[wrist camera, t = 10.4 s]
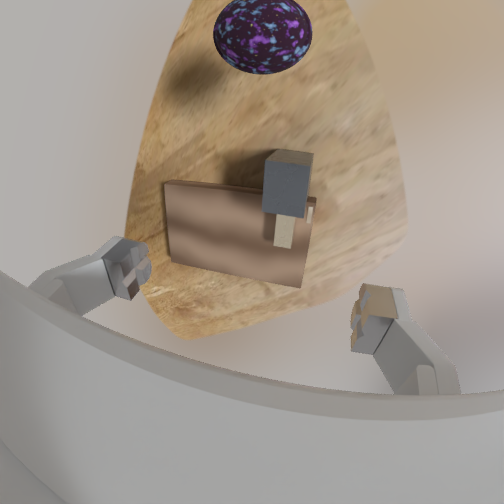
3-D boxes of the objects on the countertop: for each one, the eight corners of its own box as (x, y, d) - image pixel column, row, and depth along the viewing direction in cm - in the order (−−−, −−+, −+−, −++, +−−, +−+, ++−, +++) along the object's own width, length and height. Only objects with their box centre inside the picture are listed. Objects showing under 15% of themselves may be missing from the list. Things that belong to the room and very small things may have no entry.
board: (171, 179, 34) (163, 184, 33) (316, 197, 31) (315, 203, 29) (177, 255, 41) (171, 262, 39) (302, 279, 37) (300, 288, 35)
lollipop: (256, 88, 26) (198, 74, 14) (253, 35, 23) (194, -12, 10) (318, 87, 24) (313, 65, 12) (314, 32, 21) (304, -28, 8)
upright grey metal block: (278, 148, 29) (265, 160, 23) (313, 153, 28) (310, 166, 22) (270, 231, 34) (257, 260, 28) (302, 236, 33) (295, 267, 28)
